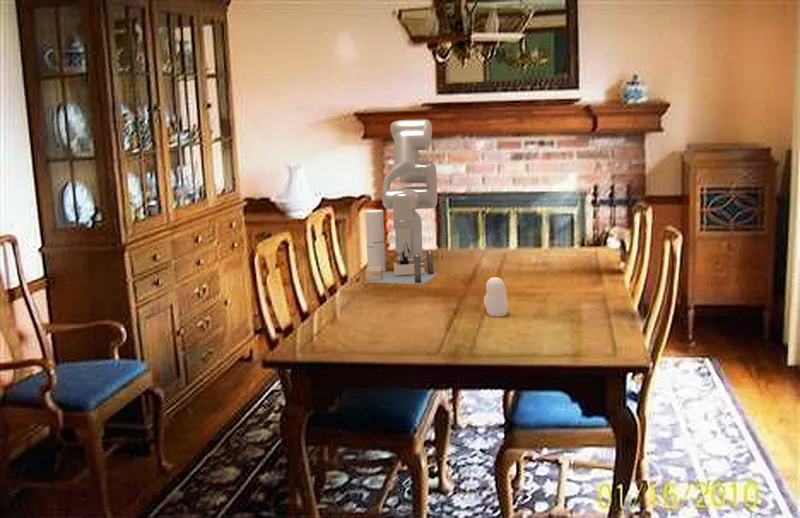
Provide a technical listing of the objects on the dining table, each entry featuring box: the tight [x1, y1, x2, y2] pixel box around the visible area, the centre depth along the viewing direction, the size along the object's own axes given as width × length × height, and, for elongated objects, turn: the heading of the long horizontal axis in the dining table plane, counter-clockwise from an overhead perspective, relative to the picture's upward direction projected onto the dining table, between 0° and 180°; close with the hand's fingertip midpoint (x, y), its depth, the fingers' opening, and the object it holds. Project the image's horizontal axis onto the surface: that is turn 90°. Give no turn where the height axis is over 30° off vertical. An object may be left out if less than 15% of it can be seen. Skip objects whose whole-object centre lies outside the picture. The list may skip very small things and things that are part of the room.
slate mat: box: [366, 270, 440, 285], centre depth 359 cm, size 21×23×1 cm
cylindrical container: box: [364, 209, 386, 272], centre depth 372 cm, size 7×7×25 cm
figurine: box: [483, 276, 509, 317], centre depth 299 cm, size 7×8×12 cm
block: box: [364, 266, 383, 281], centre depth 358 cm, size 6×6×4 cm
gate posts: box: [413, 250, 435, 283], centre depth 355 cm, size 19×3×11 cm, turn 161°
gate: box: [393, 262, 425, 275], centre depth 362 cm, size 12×2×5 cm, turn 99°
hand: (404, 269), depth 365 cm, fingers closed
